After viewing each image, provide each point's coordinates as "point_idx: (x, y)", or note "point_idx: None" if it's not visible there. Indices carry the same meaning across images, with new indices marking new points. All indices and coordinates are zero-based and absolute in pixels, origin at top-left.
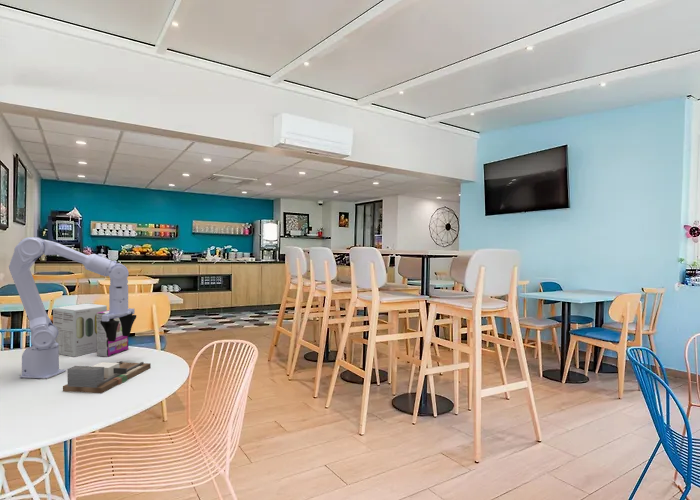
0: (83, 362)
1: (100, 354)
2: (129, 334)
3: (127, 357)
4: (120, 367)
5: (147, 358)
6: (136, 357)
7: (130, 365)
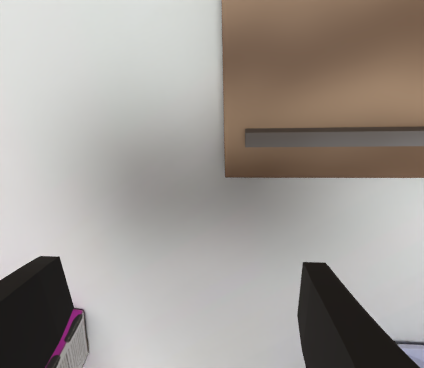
0: (187, 350)
1: (84, 347)
2: (32, 263)
3: (52, 221)
4: (349, 74)
5: (20, 91)
6: (31, 173)
7: (293, 30)
